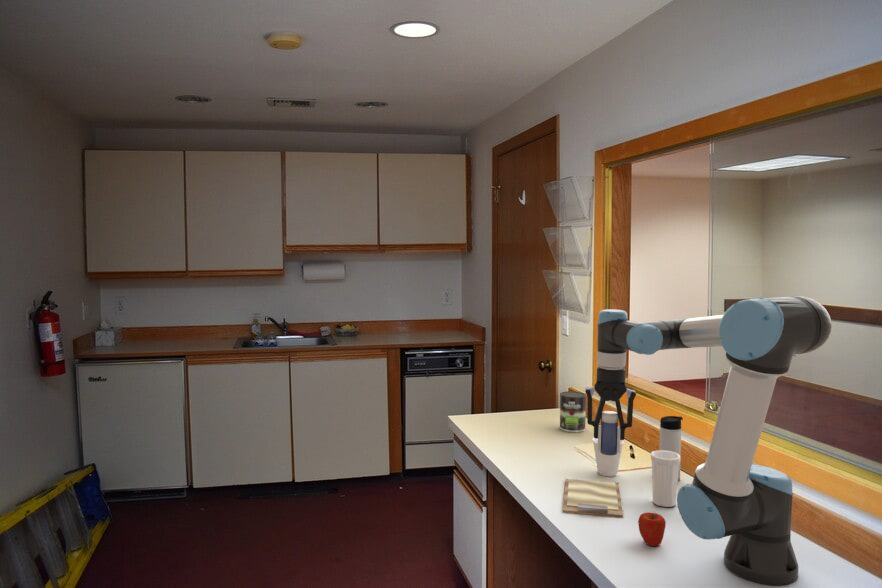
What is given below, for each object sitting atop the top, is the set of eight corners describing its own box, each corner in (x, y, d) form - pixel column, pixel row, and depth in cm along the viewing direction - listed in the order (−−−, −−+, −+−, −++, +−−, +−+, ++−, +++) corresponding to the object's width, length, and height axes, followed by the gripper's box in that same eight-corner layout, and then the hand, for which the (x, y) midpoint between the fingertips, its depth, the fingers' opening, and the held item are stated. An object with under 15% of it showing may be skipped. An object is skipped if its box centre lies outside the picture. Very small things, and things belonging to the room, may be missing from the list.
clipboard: (622, 517, 171) (623, 511, 171) (562, 512, 174) (562, 506, 174) (618, 484, 194) (618, 478, 194) (565, 480, 198) (565, 474, 198)
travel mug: (682, 483, 195) (684, 420, 193) (660, 482, 196) (661, 419, 194) (679, 476, 201) (680, 414, 199) (657, 474, 202) (659, 413, 200)
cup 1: (588, 476, 201) (588, 442, 201) (595, 466, 210) (596, 433, 209) (619, 481, 197) (620, 446, 196) (626, 471, 206) (626, 438, 205)
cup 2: (660, 511, 175) (661, 460, 174) (643, 499, 183) (644, 451, 181) (685, 507, 177) (686, 458, 176) (667, 496, 185) (669, 448, 184)
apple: (633, 543, 156) (634, 514, 155) (645, 535, 160) (646, 507, 160) (657, 552, 151) (658, 522, 151) (669, 543, 156) (670, 514, 155)
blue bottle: (617, 456, 170) (619, 416, 169) (600, 454, 171) (601, 415, 170) (616, 450, 175) (617, 411, 174) (599, 449, 176) (600, 410, 175)
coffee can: (584, 433, 246) (585, 398, 245) (558, 431, 249) (558, 396, 248) (586, 426, 256) (587, 392, 255) (561, 424, 259) (561, 390, 258)
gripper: (643, 365, 172) (640, 448, 175) (578, 362, 176) (576, 443, 178) (646, 371, 165) (642, 457, 167) (578, 368, 169) (576, 452, 171)
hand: (608, 450), depth 173 cm, fingers closed on blue bottle, 4 cm apart
